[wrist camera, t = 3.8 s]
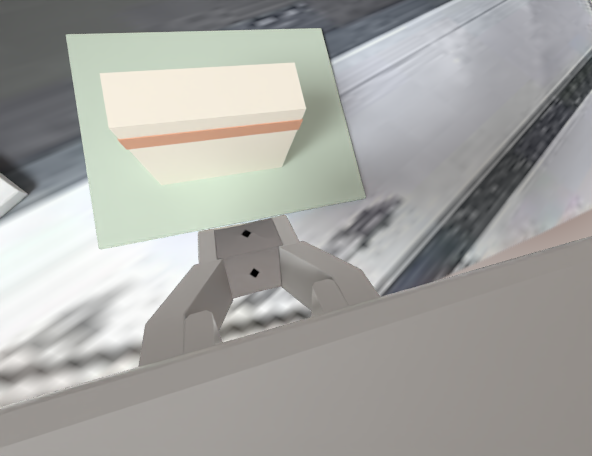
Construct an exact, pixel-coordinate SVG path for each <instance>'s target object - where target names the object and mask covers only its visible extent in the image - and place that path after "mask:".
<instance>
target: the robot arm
mask: <svg viewBox="0 0 592 456" xmlns="http://www.w3.org/2000/svg"><path fill="white" fill-rule="evenodd" d="M198 258H199V264H196V265H194V266H193V267H192V268H191V269H190V270H189V272H188V273H187V274H186V275H185V277H184V278H183V279H182V280H181V281H180V283H179V284H178V285H177V286H176V288H175V289H174V290H173V291H172V292H171V294H170V295H169V296H168V297H167V299H166V300H165V301H164V302H163V303H162V305H161V306H160V307H159V308H158V310H157V311H156V312H155V313H154V314H153V316H152V317H151V318H150V319H149V321H148V322H147V323H146V324H145V329H144V336H143V342H142V348H141V354H140V361H139V367H137V368H134V369H130V370H127V371H123V372H120V373H116V374H113V375H109V376H106V377H102V378H99V379H96V380H92V381H89V382H85V383H82V384H78V385H75V386H71V387H68V388H64V389H61V390H57V391H54V392H51V393H47V394H44V395H40V396H37V397H33V398H30V399H26V400H23V401H19V402H16V403H13V404H9V405H6V406H2V407H0V456H592V236H590V237H587V238H583V239H580V240H577V241H573V242H569V243H566V244H563V245H559V246H556V247H552V248H549V249H545V250H542V251H538V252H535V253H532V254H528V255H524V256H521V257H517V258H514V259H511V260H507V261H504V262H500V263H497V264H493V265H490V266H487V267H483V268H479V269H476V270H473V271H469V272H466V273H462V274H459V275H455V276H452V277H449V278H445V279H441V280H438V281H435V282H431V283H428V284H424V285H421V286H417V287H414V288H410V289H407V290H403V291H400V292H396V293H393V294H390V295H386V296H383V297H380V296H379V294H378V293H377V292H376V290H375V289H374V287H373V286H372V284H371V283H370V281H369V280H368V279H367V277H366V276H365V274H364V273H363V271H362V270H361V269H359V268H357V267H355V266H353V265H351V264H349V263H347V262H345V261H343V260H341V259H339V258H337V257H335V256H333V255H331V254H329V253H327V252H325V251H323V250H321V249H319V248H317V247H315V246H313V245H311V244H309V243H307V242H305V241H301V242H299V240H298V238H297V236H296V234H295V232H294V230H293V228H292V226H291V224H290V222H289V220H288V218H287V216H286V215H281V216H277V217H272V218H269V219H264V220H259V221H255V222H250V223H245V224H244V223H243V224H237V225H231V226H225V227H220V228H214V229H208V230H203V231H199V232H198ZM280 286H282V288H284V289H285V290H286V291H287V292H289V293H290V294H291V295H292V296H293V297H295V298H296V299H297V300H298V301H300V302H301V303H302V304H303V305H305V306H306V307H307V308H308V309H310V310H311V317H310V318H306V319H303V320H300V321H296V322H293V323H289V324H286V325H282V326H279V327H275V328H272V329H268V330H265V331H261V332H258V333H255V334H251V335H248V336H244V337H241V338H237V339H234V340H230V341H227V342H222V340H221V337H220V334H219V330H220V328H221V325H222V323H223V321H224V319H225V317H226V315H227V312H228V310H229V308H230V306H231V304H232V301H233V298H237V297H240V296H244V295H248V294H251V293H255V292H258V291H263V290H267V289H272V288H276V287H280Z"/></svg>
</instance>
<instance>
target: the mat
mask: <svg viewBox="0 0 592 456" xmlns="http://www.w3.org/2000/svg"><path fill="white" fill-rule="evenodd" d="M66 39H67V46H68V52H69V59H70V65H71V71H72V78H73V84H74V91H75V97H76V104H77V110H78V117H79V123H80V130H81V136H82V143H83V149H84V156H85V162H86V169H87V175H88V182H89V188H90V195H91V201H92V207H93V214H94V220H95V227H96V233H97V240H98V246H99V249H106V248H112V247H117V246H122V245H127V244H132V243H137V242H143V241H148V240H153V239H158V238H163V237H168V236H174V235H179V234H184V233H189V232H194V231H199V230H205V229H210V228H215V227H220V226H225V225H230V224H236V223H241V222H246V221H251V220H256V219H262V218H267V217H272V216H277V215H282V214H287V213H293V212H298V211H303V210H308V209H313V208H318V207H324V206H329V205H334V204H339V203H344V202H349V201H355V200H360V199H364V198H366V196H365V192H364V188H363V185H362V181H361V177H360V173H359V170H358V166H357V162H356V158H355V154H354V151H353V147H352V143H351V139H350V136H349V132H348V128H347V124H346V121H345V117H344V113H343V109H342V106H341V102H340V98H339V94H338V90H337V87H336V83H335V79H334V75H333V72H332V68H331V64H330V60H329V57H328V53H327V49H326V45H325V42H324V38H323V34H322V30H321V28H315V29H273V30H231V31H190V32H148V33H106V34H66ZM294 62H295V66H296V70H297V74H298V78H299V82H300V86H301V90H302V94H303V98H304V102H305V106H306V110H305V113H304V115H303V118H302V119H303V121H302V123H301V126H300V128H299V130H297V132H296V134H295V137H294V139H293V142H292V144H291V146H290V149H289V151H288V154H287V156H286V158H285V161H284V163H283V166H282V167H280V168H273V169H266V170H260V171H253V172H246V173H240V174H233V175H226V176H220V177H213V178H206V179H200V180H193V181H186V182H180V183H173V184H166V185H161V184H160V183H159V182H158V181H157V180H156V179H155V178H154V177H153V176H152V175H151V173H150V172H149V171H148V170H147V169H146V168H145V167H144V166H143V165H142V164H141V163H140V162H139V160H138V159H137V158H136V157H135V156H134V155H133V154H132V153H131V152H130V151H129V150H126V148H125V147H124V146H123V145H122V144H121V143H120V142H119V141H118V138H117V137H116V136H115V134H114V133H113V132H112V131H111V130H110V129H109V127H108V121H107V115H106V109H105V103H104V97H103V91H102V85H101V79H100V73H112V72H130V71H148V70H166V69H185V68H203V67H221V66H239V65H257V64H276V63H294Z"/></svg>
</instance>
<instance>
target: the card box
mask: <svg viewBox="0 0 592 456" xmlns="http://www.w3.org/2000/svg"><path fill="white" fill-rule="evenodd" d="M100 79H101V85H102V91H103V97H104V103H105V109H106V115H107V121H108V127H109V129H110V130H111V131H112V132H113V133H114V134H115V136H116V137H117V138H118V141H119V142H120V143H121V144H122V145H123V146H124V147H125V148H126V150H129V151H130V152H131V153H132V154H133V155H134V156H135V157H136V158H137V159H138V160H139V162H140V163H141V164H142V165H143V166H144V167H145V168H146V169H147V170H148V171H149V172H150V173H151V175H152V176H153V177H154V178H155V179H156V180H157V181H158V182H159V183H160V184H161V185H166V184H173V183H180V182H186V181H193V180H200V179H206V178H213V177H220V176H226V175H233V174H240V173H246V172H253V171H260V170H266V169H273V168H280V167H282V166H283V163H284V161H285V158H286V156H287V154H288V151H289V149H290V146H291V144H292V142H293V139H294V137H295V134H296V132H297V130H299V128H300V126H301V123H302V121H303V119H302V118H303V115H304V113H305V110H306V106H305V102H304V98H303V94H302V90H301V86H300V82H299V78H298V74H297V70H296V66H295V62H294V63H276V64H257V65H239V66H221V67H203V68H185V69H166V70H148V71H130V72H112V73H100Z"/></svg>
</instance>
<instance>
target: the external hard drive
mask: <svg viewBox="0 0 592 456" xmlns="http://www.w3.org/2000/svg"><path fill="white" fill-rule="evenodd" d="M27 195H28V194H27V193H26V192H25V191H23V190H22V189H21V188H19V187H18V186H17V185H16V184H14V183H13V182H12V181H10V180H9V179H8V178H7V177H5V176H4V175H3V174H1V173H0V218H1V217H2V216H3V215H4V214H6V213H7V212H8V211H9V210H10V209H11V208H13V207H14V206H15V205H16V204H17V203H19V202H20V201H21V200H22V199H23V198H24V197H26V196H27Z"/></svg>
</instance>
